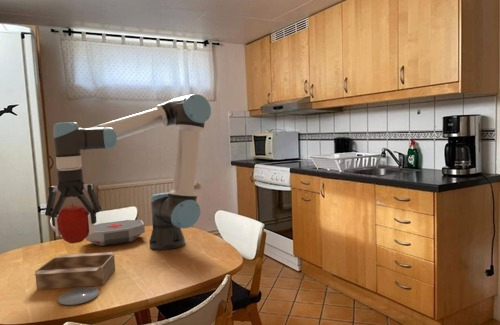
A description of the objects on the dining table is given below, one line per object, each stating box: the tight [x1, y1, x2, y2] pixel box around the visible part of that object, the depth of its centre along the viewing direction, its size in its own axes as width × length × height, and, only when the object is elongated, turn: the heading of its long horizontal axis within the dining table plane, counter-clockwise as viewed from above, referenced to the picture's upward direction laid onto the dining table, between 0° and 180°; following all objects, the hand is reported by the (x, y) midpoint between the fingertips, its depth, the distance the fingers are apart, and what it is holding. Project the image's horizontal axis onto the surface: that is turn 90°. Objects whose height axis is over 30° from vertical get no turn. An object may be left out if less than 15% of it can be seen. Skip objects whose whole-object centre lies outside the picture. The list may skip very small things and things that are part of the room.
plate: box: [57, 286, 99, 306], centre depth 109 cm, size 11×11×1 cm
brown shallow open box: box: [33, 251, 116, 290], centre depth 124 cm, size 21×18×6 cm
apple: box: [57, 202, 90, 244], centre depth 122 cm, size 10×10×14 cm
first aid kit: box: [85, 219, 146, 247], centre depth 167 cm, size 18×8×25 cm
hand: (75, 234), depth 123 cm, fingers closed on apple, 10 cm apart
